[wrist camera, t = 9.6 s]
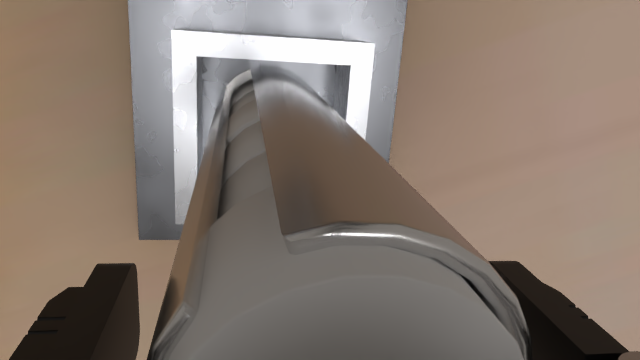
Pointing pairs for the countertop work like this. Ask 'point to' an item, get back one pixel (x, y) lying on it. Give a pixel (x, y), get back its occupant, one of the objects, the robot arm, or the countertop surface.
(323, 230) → the silver metal cylinder
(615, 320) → the countertop surface
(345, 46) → the board
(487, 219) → the countertop surface
